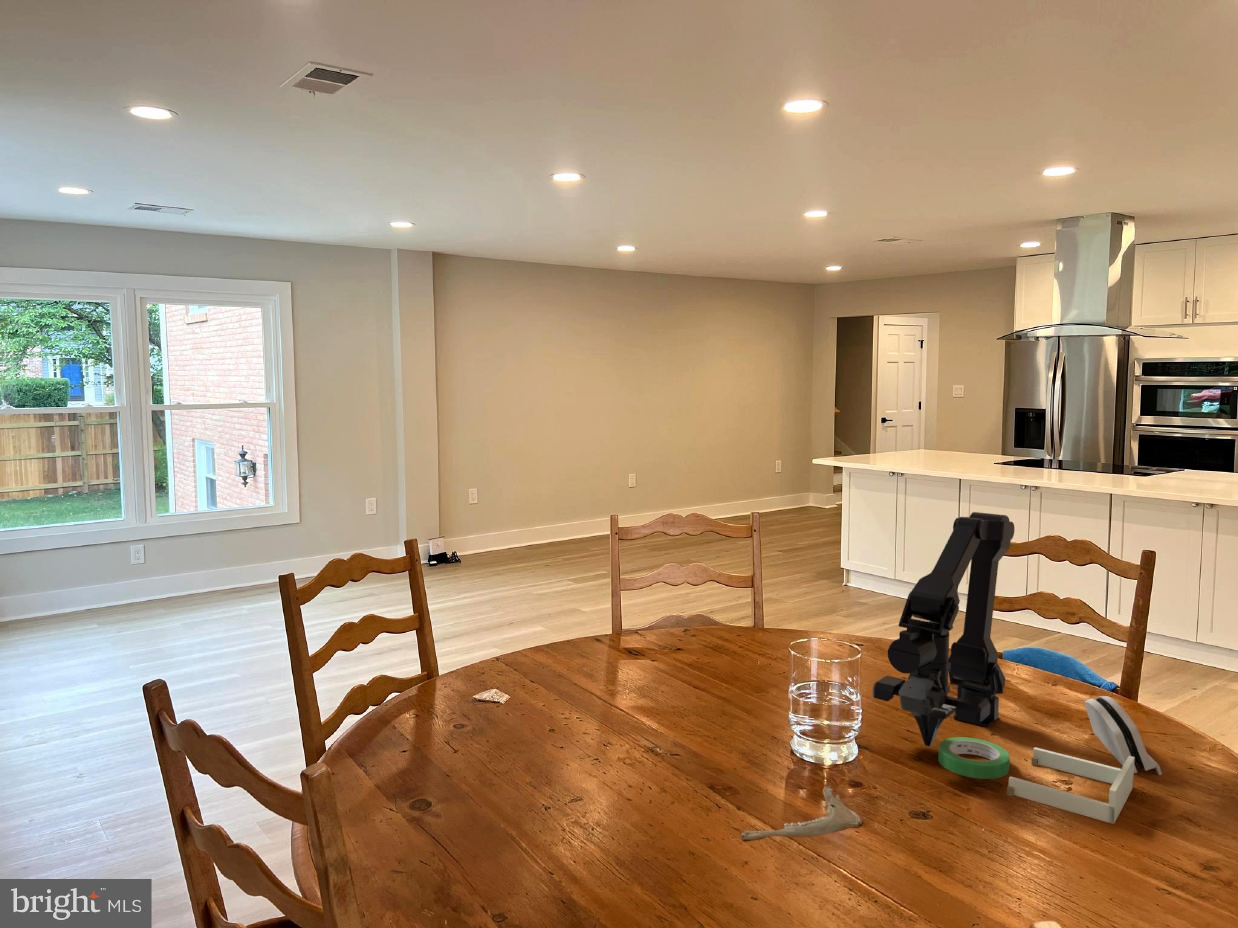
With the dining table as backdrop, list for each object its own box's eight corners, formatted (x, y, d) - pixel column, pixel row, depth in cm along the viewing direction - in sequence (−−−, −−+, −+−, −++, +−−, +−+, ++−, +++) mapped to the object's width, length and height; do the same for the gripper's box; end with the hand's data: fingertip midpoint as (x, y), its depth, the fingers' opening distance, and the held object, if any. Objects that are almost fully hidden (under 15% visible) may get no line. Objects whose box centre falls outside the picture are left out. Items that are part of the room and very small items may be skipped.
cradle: (1006, 795, 133) (1007, 764, 133) (1035, 759, 145) (1036, 731, 145) (1112, 826, 124) (1114, 793, 123) (1133, 785, 136) (1135, 755, 135)
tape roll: (1005, 755, 148) (1006, 741, 147) (1012, 784, 137) (1013, 768, 137) (937, 747, 151) (937, 733, 151) (939, 774, 141) (939, 759, 141)
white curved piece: (1163, 775, 139) (1143, 718, 139) (1133, 782, 140) (1113, 726, 140) (1123, 734, 155) (1105, 682, 155) (1096, 740, 156) (1078, 690, 156)
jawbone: (876, 822, 127) (877, 809, 127) (787, 874, 115) (788, 860, 114) (827, 794, 134) (828, 782, 134) (738, 841, 121) (739, 828, 121)
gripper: (859, 659, 147) (858, 745, 149) (970, 683, 135) (967, 777, 137) (886, 644, 156) (884, 726, 157) (992, 665, 144) (989, 754, 145)
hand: (928, 745), depth 149 cm, fingers closed
